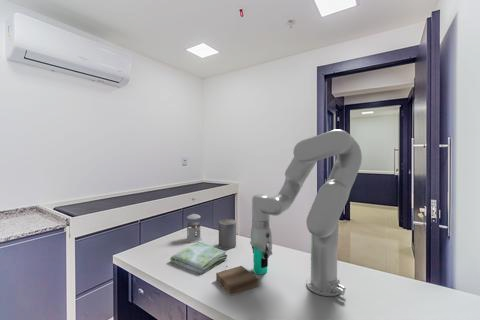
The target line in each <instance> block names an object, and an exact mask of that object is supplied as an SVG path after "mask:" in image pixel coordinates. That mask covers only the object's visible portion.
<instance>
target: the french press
mask: <svg viewBox="0 0 480 320" xmlns="http://www.w3.org/2000/svg"><path fill="white" fill-rule="evenodd" d="M195 200H196V198H195V197H193V198H192V199H191V201H195ZM186 218H187V220H193V221H192V222H191V221H190V222H188V223H187V226H186V235H187V236H186V239H185V240H186V241H185V242H186V243H188V242H190V243H189V244H196V243H195V242H197V243H198V242H199V241H200V242H201V240H203V239H202V237H201V225H200V224H201V222H200V219H201V218H202V216H201V215H199V214H197V213H192V214H189V215H187V216H186ZM197 220H198V222H197Z"/></svg>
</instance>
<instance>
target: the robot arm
mask: <svg viewBox="0 0 480 320" xmlns="http://www.w3.org/2000/svg"><path fill="white" fill-rule="evenodd" d="M335 156H336V158H335V162H334V164H333V166H332V168H331V171H330V173H329V176H328V178H327V179H326V182H324V183H323V185H321V186H320V188H319V189H318V191H317V193H316V194H315V197H314V201H313V202H312V204H311V207H310V210H309V212H308V215H307V216H306V221H305V222H306V228H307V230H308V232H309V233H310V235H311V239H310V240H311V242H310V243H311V244H310V277H308V278H307V279H306V286H307V288H308V290H310V291H311V292H312V293H314V294H317V295H319V296H324V297H336V296H338V295H341V296H344V295H345V293H346V286H343V285H342V284H341V283H340V279H339V278H338V247H339V244H338V242H339V241H338V240H339V239H338V238H339V221H340V218H341V216H342V213H343V211H344V209H345V206H346V204H347V202H348V200H349V197H350V194H351V189H352V188H353V185H354V183H355V181H356V179H357V176H358V174H359V170H360V168H361V165H362V161H363V160H362V158H363V157H362V150H361V148H360V145H359V143H358V142H357V140H355V138H354V137H353V136H352V135H351V134H350V133H348V132H347V131H345V130H343V129H333V130H330V131H327V132H323V133H321V134H318V135H314V136H312V137H308V138H305V139H302V140H300V141H299V142H297V143H296V144H295V145H294V147H293V158H292V159H291V161H290V163H289V165H288V166H287V168H286V169H285V172H284V176H285V179H284V182H283V185H282V187H281V189H280V190H279V191H278V194H276V195H274V196H272V197H269V195H267V194H262V193H261V194H260V193H259V194H254V195H253V196H252V199H251V202H252V204H251V209H252V210H251V217H252V218H251V230H250V241H249V245H251V249H252V254H254V247H255V248H256V249H259V250H260V251H261V252H262V258H261V268H265V267H267V268H268V266H269V258H270V256H272V255H273V251H272V250H273V238H272V236H273V235H272V230H271V227H270V216H275V217H277V216H280V215H282V214H283V213H285V212H286V211H287V210H289V209H290V208H291V206H292V204H293V203H294V202H295V200H296V198H297V196H298V195H299V193H300V191H301V189H302V188H303V185H304V183H305V181H306V180H307V178H308V177H309V175H310V174H311V172H312V171H313V169H314V167H315V165H316V164H317V162H318V161H320V160H324V159H328V158H331V157H335ZM265 249H266V250H265ZM265 252H266V254H265V255H264V253H265ZM253 263H254V257H253Z"/></svg>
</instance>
